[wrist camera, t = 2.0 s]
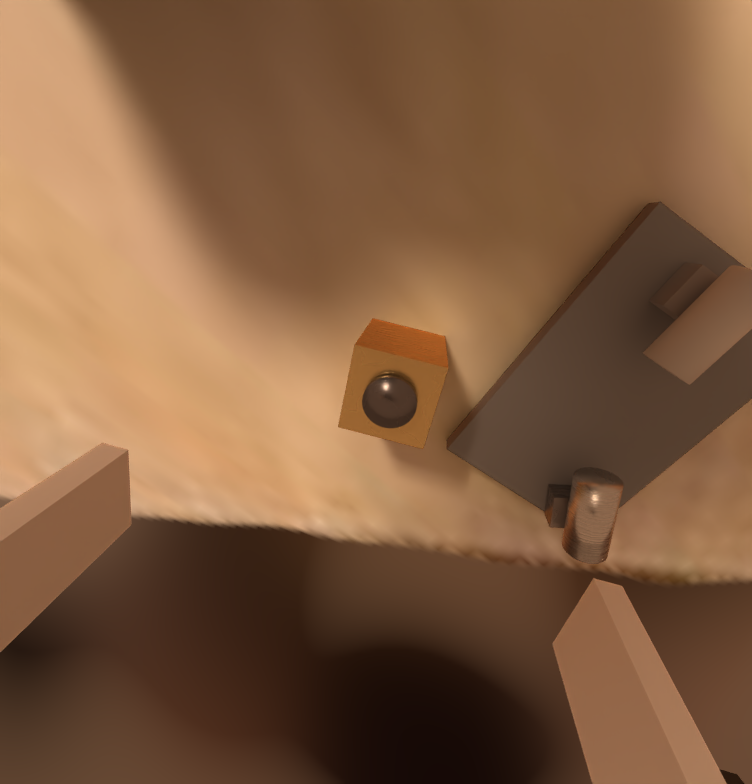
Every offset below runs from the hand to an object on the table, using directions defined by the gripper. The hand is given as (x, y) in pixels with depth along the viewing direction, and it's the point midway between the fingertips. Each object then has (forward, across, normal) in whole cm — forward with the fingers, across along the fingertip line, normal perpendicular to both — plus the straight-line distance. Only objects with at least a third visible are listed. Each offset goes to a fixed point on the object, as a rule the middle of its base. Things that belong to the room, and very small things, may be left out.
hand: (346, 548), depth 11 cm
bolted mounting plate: (+17, +14, +2) cm, 22 cm away
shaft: (+15, +14, -5) cm, 21 cm away
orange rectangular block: (+17, 0, 0) cm, 17 cm away
